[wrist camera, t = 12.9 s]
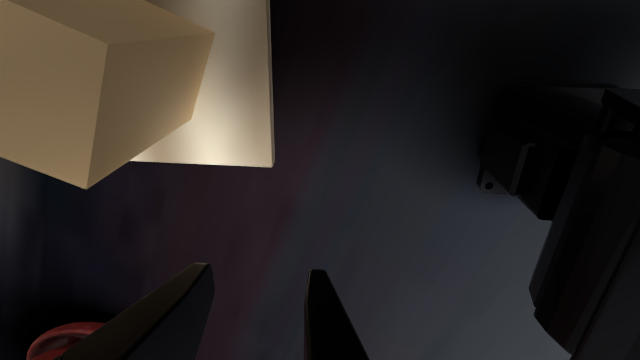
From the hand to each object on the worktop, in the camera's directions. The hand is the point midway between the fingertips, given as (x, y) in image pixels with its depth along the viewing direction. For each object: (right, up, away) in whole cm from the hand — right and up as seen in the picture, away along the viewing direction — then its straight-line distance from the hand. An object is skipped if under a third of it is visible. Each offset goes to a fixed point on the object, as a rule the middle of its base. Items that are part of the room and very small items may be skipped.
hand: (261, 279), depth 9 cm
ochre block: (-7, +9, +9) cm, 15 cm away
